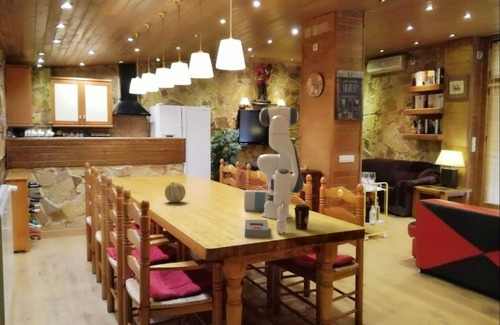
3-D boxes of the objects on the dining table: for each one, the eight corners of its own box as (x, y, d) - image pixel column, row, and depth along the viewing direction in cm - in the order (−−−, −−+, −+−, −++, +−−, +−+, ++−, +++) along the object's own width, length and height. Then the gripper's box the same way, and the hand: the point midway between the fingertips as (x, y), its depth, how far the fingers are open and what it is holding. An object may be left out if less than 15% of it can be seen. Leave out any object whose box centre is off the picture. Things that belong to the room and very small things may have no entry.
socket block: (245, 226, 228) (245, 218, 228) (266, 227, 228) (267, 219, 228) (244, 237, 206) (244, 228, 206) (268, 237, 206) (268, 228, 206)
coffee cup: (308, 227, 230) (308, 204, 229) (310, 230, 222) (311, 207, 221) (292, 226, 230) (293, 204, 229) (294, 230, 222) (295, 206, 221)
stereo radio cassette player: (244, 211, 271) (244, 181, 269) (244, 208, 279) (245, 179, 278) (275, 212, 271) (276, 182, 269) (275, 209, 279) (275, 180, 277)
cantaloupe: (188, 201, 303) (188, 181, 302) (180, 204, 289) (180, 183, 288) (170, 200, 307) (170, 180, 306) (161, 203, 293) (161, 182, 291)
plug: (276, 232, 217) (276, 219, 216) (285, 232, 217) (286, 219, 216) (276, 234, 213) (277, 220, 213) (286, 234, 213) (286, 221, 213)
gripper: (289, 204, 203) (289, 231, 204) (286, 197, 224) (285, 222, 225) (277, 204, 203) (276, 231, 204) (274, 197, 224) (274, 222, 225)
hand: (281, 226), depth 215 cm, fingers open, 8 cm apart
